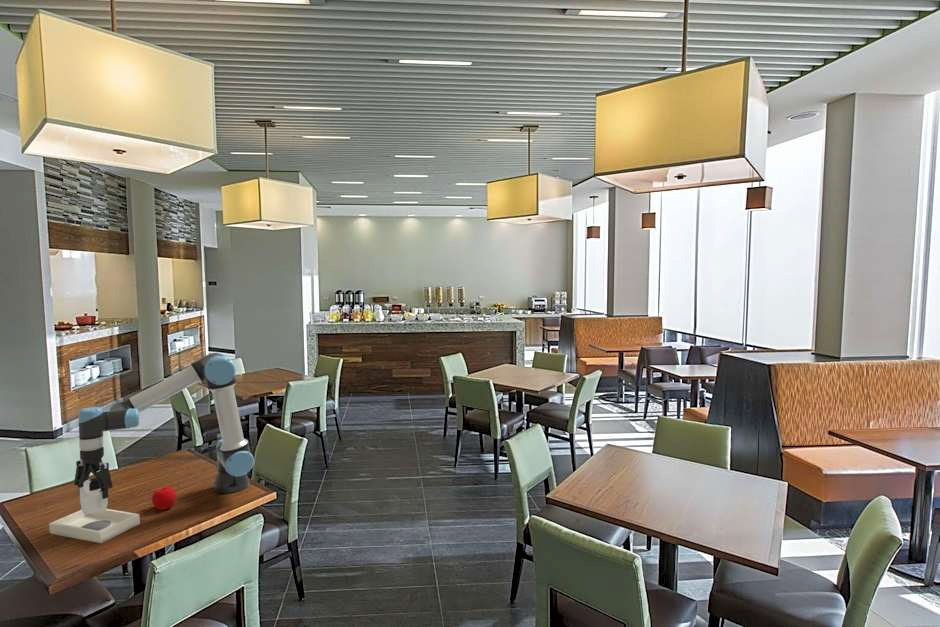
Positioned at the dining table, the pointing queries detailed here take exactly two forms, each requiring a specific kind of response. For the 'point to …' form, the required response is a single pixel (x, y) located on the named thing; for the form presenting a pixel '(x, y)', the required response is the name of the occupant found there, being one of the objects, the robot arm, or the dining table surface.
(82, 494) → the medicine bottle
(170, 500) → the fruit
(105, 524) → the tray
